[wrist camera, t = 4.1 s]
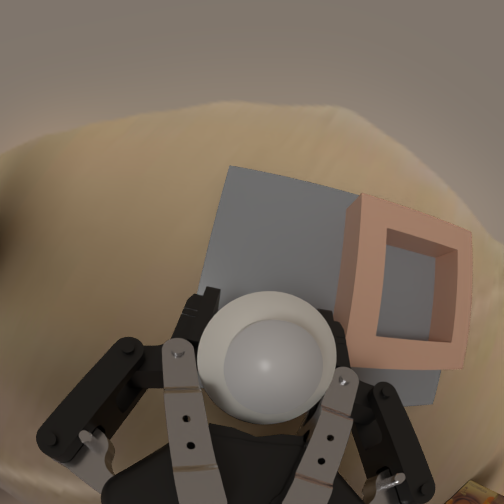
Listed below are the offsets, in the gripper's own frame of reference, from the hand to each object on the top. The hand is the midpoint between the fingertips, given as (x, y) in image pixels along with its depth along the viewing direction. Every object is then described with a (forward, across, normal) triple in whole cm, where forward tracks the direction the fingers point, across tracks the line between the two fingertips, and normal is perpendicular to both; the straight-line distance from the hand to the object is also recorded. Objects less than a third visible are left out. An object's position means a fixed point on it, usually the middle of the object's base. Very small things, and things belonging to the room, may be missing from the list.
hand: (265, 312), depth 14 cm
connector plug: (+2, 0, +4) cm, 5 cm away
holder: (+5, -6, +2) cm, 8 cm away
